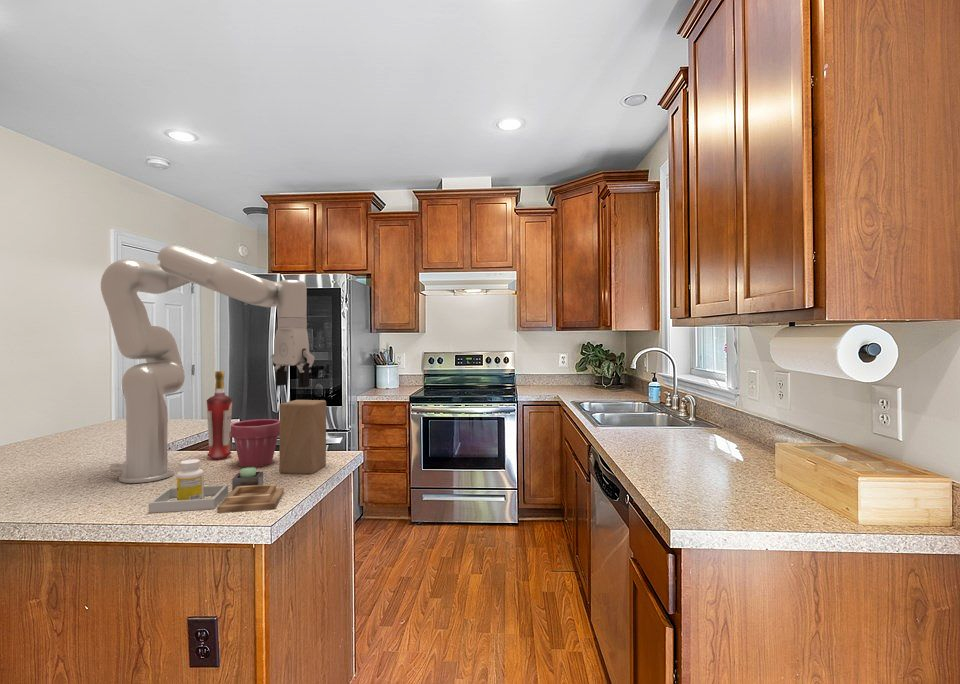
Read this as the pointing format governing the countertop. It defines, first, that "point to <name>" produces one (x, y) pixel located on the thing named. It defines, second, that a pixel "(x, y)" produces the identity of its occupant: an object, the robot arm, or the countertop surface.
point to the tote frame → (184, 505)
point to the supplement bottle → (190, 481)
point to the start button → (248, 472)
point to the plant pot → (255, 441)
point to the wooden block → (302, 436)
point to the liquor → (219, 420)
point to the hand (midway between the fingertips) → (292, 386)
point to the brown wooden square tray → (251, 498)
